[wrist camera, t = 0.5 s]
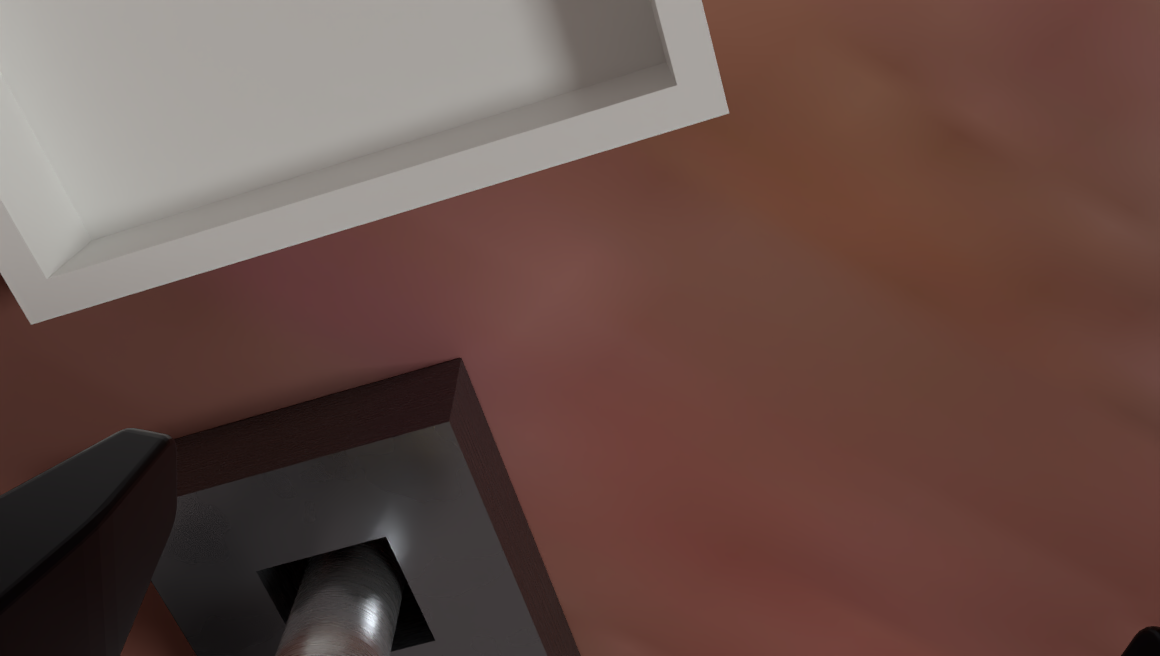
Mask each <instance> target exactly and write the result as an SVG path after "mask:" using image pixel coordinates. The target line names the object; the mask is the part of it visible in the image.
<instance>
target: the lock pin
mask: <svg viewBox="0 0 1160 656" xmlns="http://www.w3.org/2000/svg"><path fill="white" fill-rule="evenodd" d="M405 581H406V578H405V576H404V573H403V571H402V569H401V567H400V565H399V563H398V561H397V559H396V557H395V555H394V552H393V550H392V548H391V546H390V544H389V542H388V540H387V538H386V537H382V538H379V539H375V540H371V541H367V542H364V543H360V544H356V545H352V546H349V547H345V548H341V549H337V550H334V551H330V552H326V553H322V554H319V555H315V556H311V557H310V558H309V561H308V564H307V567H306V569H305V572H304V575H303V578H302V581H301V584H300V587H299V589H298V592H297V595H296V598H295V601H294V604H293V607H292V609H291V612H290V615H289V618H288V621H287V624H286V626H285V629H284V632H283V635H282V638H281V641H280V644H279V646H278V649H277V652H276V655H275V656H390V652H391V647H392V642H393V638H394V633H395V628H396V623H397V619H398V614H399V609H400V604H401V600H402V595H403V590H404V585H405Z"/></svg>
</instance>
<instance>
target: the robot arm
mask: <svg viewBox="0 0 1160 656" xmlns="http://www.w3.org/2000/svg"><path fill="white" fill-rule="evenodd" d="M176 510H177V447H176V444H175V440H174V439H173V438H172V437H171V436H169V435H167V434H162V433H157V432H152V431H147V430H141V429H136V428H127V429H123V430H121V431H119V432H117V433H115V434H113V435H111V436H109V437H108V438H106V439H104V440H102V441H100V442H98V443H96V444H95V445H93V446H91V447H89V448H87V449H85V450H84V451H82V452H80V453H78V454H76V455H74V456H72V457H71V458H69V459H67V460H65V461H63V462H61V463H60V464H58V465H56V466H54V467H52V468H50V469H48V470H47V471H45V472H43V473H41V474H39V475H37V476H36V477H34V478H32V479H30V480H28V481H26V482H24V483H23V484H21V485H19V486H17V487H15V488H13V489H12V490H10V491H8V492H6V493H4V494H2V495H1V496H0V656H120V654H121V651H122V649H123V646H124V644H125V642H126V639H127V637H128V634H129V632H130V630H131V627H132V625H133V622H134V620H135V618H136V615H137V613H138V610H139V608H140V606H141V603H142V601H143V598H144V596H145V593H146V591H147V589H148V586H149V584H150V581H151V579H152V577H153V574H154V572H155V569H156V567H157V565H158V562H159V560H160V557H161V555H162V553H163V550H164V548H165V545H166V543H167V540H168V538H169V536H170V533H171V530H172V528H173V524H174V521H175V516H176ZM1121 656H1160V627H1156V626H1151V627H1146V628H1144V629H1142V630H1141V631H1139V632H1138V633H1137V634H1136V635H1135V637H1134V638H1133V639H1132V641H1131V642H1130V644H1129V645H1128V647H1127V648H1126V649H1125V651H1124V652H1123V654H1122V655H1121Z"/></svg>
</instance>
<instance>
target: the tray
mask: <svg viewBox="0 0 1160 656" xmlns="http://www.w3.org/2000/svg"><path fill="white" fill-rule="evenodd" d="M728 113H729V110H728V106H727V102H726V98H725V94H724V90H723V86H722V82H721V78H720V74H719V70H718V66H717V61H716V57H715V53H714V49H713V45H712V41H711V37H710V33H709V29H708V25H707V21H706V17H705V13H704V8H703V4H702V0H0V273H1V275H2V277H3V278H4V280H5V282H6V283H7V285H8V287H9V288H10V290H11V292H12V293H13V295H14V297H15V298H16V300H17V302H18V303H19V305H20V307H21V309H22V310H23V312H24V314H25V315H26V317H27V319H28V320H29V322H30V324H31V325H32V324H35V323H39V322H42V321H45V320H49V319H52V318H55V317H58V316H62V315H65V314H68V313H72V312H75V311H78V310H82V309H85V308H88V307H91V306H95V305H98V304H101V303H105V302H108V301H111V300H115V299H118V298H121V297H124V296H128V295H131V294H134V293H138V292H141V291H144V290H148V289H151V288H154V287H157V286H161V285H164V284H167V283H171V282H174V281H177V280H181V279H184V278H187V277H190V276H194V275H197V274H200V273H204V272H207V271H210V270H214V269H217V268H220V267H223V266H227V265H230V264H233V263H237V262H240V261H243V260H247V259H250V258H253V257H256V256H260V255H263V254H266V253H270V252H273V251H276V250H280V249H283V248H286V247H289V246H293V245H296V244H299V243H303V242H306V241H309V240H313V239H316V238H319V237H322V236H326V235H329V234H332V233H336V232H339V231H342V230H346V229H349V228H352V227H355V226H359V225H362V224H365V223H369V222H372V221H375V220H379V219H382V218H385V217H388V216H392V215H395V214H398V213H402V212H405V211H408V210H412V209H415V208H418V207H422V206H425V205H428V204H431V203H435V202H438V201H441V200H445V199H448V198H451V197H455V196H458V195H461V194H464V193H468V192H471V191H474V190H478V189H481V188H484V187H488V186H491V185H494V184H497V183H501V182H504V181H507V180H511V179H514V178H517V177H521V176H524V175H527V174H530V173H534V172H537V171H540V170H544V169H547V168H550V167H554V166H557V165H560V164H563V163H567V162H570V161H573V160H577V159H580V158H583V157H587V156H590V155H593V154H596V153H600V152H603V151H606V150H610V149H613V148H616V147H620V146H623V145H626V144H629V143H633V142H636V141H639V140H643V139H646V138H649V137H653V136H656V135H659V134H662V133H666V132H669V131H672V130H676V129H679V128H682V127H686V126H689V125H692V124H695V123H699V122H702V121H705V120H709V119H712V118H715V117H719V116H722V115H725V114H728Z"/></svg>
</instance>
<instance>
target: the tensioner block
mask: <svg viewBox="0 0 1160 656" xmlns="http://www.w3.org/2000/svg"><path fill="white" fill-rule="evenodd" d="M175 444H176V447H177V510H176V516H175V521H174V524H173V528H172V530H171V533H170V536H169V538H168V540H167V543H166V545H165V548H164V550H163V553H162V555H161V557H160V560H159V562H158V565H157V567H156V569H155V572H154V574H153V577H152V579H151V581H152V583H153V585H154V586H155V588H156V590H157V591H158V593H159V594H160V596H161V598H162V599H163V601H164V603H165V604H166V606H167V608H168V609H169V611H170V612H171V614H172V616H173V617H174V619H175V621H176V622H177V624H178V626H179V627H180V629H181V630H182V632H183V634H184V635H185V637H186V639H187V640H188V642H189V644H190V645H191V647H192V648H193V650H194V652H195V653H196V655H197V656H275V655H276V652H277V649H278V646H279V644H280V641H281V638H282V635H283V632H284V629H285V626H286V624H287V621H288V618H289V615H290V612H291V609H292V607H293V604H294V601H295V598H296V595H297V592H298V589H299V587H300V584H301V581H302V578H303V575H304V572H305V569H306V567H307V564H308V561H309V558H310V557H311V556H315V555H319V554H322V553H326V552H330V551H334V550H337V549H341V548H345V547H349V546H352V545H356V544H360V543H364V542H367V541H371V540H375V539H379V538H382V537H386V538H387V540H388V542H389V544H390V546H391V548H392V550H393V552H394V555H395V557H396V559H397V561H398V563H399V565H400V567H401V569H402V571H403V573H404V576H405V578H406V581H405V585H404V590H403V595H402V600H401V604H400V609H399V614H398V619H397V623H396V628H395V633H394V638H393V642H392V647H391V652H390V656H580V653H579V651H578V648H577V646H576V643H575V641H574V638H573V636H572V633H571V631H570V628H569V626H568V623H567V621H566V618H565V616H564V613H563V611H562V608H561V606H560V603H559V601H558V598H557V596H556V593H555V591H554V588H553V586H552V583H551V581H550V578H549V576H548V573H547V571H546V568H545V566H544V563H543V561H542V558H541V556H540V553H539V551H538V548H537V546H536V543H535V541H534V538H533V536H532V533H531V531H530V528H529V526H528V523H527V521H526V518H525V516H524V513H523V511H522V508H521V506H520V503H519V501H518V498H517V496H516V493H515V491H514V488H513V486H512V483H511V481H510V478H509V476H508V473H507V471H506V468H505V466H504V463H503V461H502V458H501V456H500V453H499V451H498V448H497V446H496V443H495V441H494V438H493V436H492V433H491V431H490V428H489V426H488V423H487V421H486V418H485V416H484V413H483V411H482V408H481V406H480V403H479V401H478V398H477V396H476V393H475V391H474V388H473V386H472V383H471V381H470V378H469V376H468V373H467V371H466V368H465V366H464V363H463V361H462V358H460V359H456V360H452V361H449V362H445V363H442V364H438V365H435V366H431V367H428V368H424V369H421V370H417V371H414V372H410V373H407V374H403V375H400V376H396V377H393V378H389V379H386V380H382V381H379V382H375V383H372V384H368V385H365V386H361V387H358V388H354V389H350V390H347V391H343V392H340V393H336V394H333V395H329V396H326V397H322V398H319V399H315V400H312V401H308V402H305V403H301V404H298V405H294V406H291V407H287V408H284V409H280V410H277V411H273V412H270V413H266V414H263V415H259V416H256V417H252V418H248V419H245V420H241V421H238V422H234V423H231V424H227V425H224V426H220V427H217V428H213V429H210V430H206V431H203V432H199V433H196V434H192V435H189V436H185V437H182V438H178V439H175Z"/></svg>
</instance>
